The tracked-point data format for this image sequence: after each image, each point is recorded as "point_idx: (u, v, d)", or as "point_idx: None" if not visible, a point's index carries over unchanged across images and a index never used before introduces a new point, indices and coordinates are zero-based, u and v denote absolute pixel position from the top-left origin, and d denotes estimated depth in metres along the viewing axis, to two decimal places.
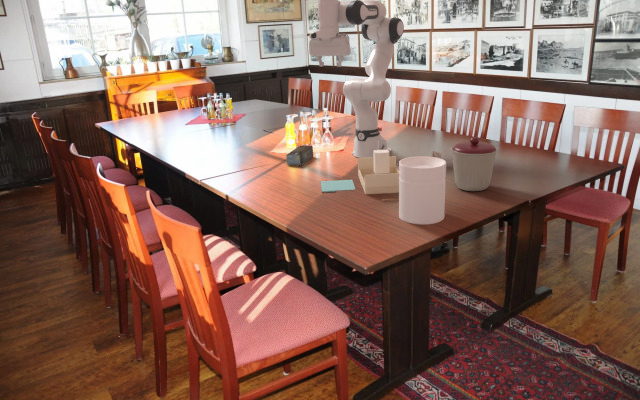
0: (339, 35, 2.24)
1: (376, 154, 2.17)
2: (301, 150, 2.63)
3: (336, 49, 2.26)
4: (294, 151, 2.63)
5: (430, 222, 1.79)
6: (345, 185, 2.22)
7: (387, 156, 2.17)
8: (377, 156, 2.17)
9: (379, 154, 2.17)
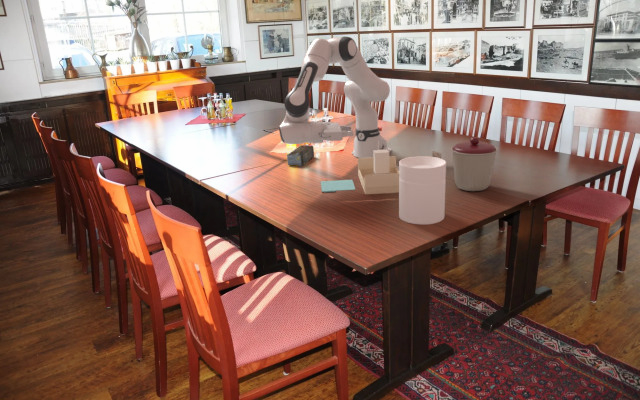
0: None
1: (376, 154, 2.17)
2: (302, 150, 2.63)
3: None
4: (295, 151, 2.63)
5: (430, 222, 1.79)
6: (345, 185, 2.22)
7: (387, 156, 2.17)
8: (377, 156, 2.17)
9: (379, 154, 2.17)
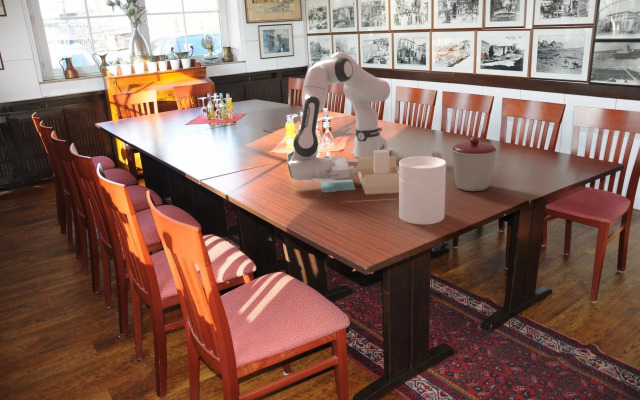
0: None
1: (376, 154, 2.17)
2: None
3: None
4: None
5: (430, 222, 1.79)
6: (345, 185, 2.22)
7: (387, 156, 2.17)
8: (377, 156, 2.17)
9: (379, 154, 2.17)
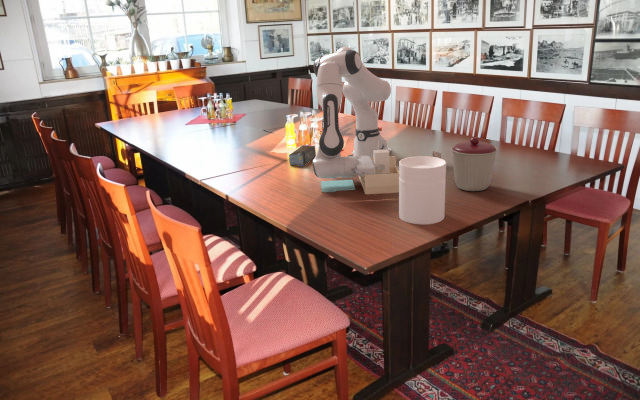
0: None
1: (376, 154, 2.17)
2: (304, 150, 2.63)
3: None
4: (297, 151, 2.62)
5: (430, 222, 1.79)
6: (345, 185, 2.22)
7: (387, 156, 2.17)
8: (377, 156, 2.17)
9: (379, 154, 2.17)
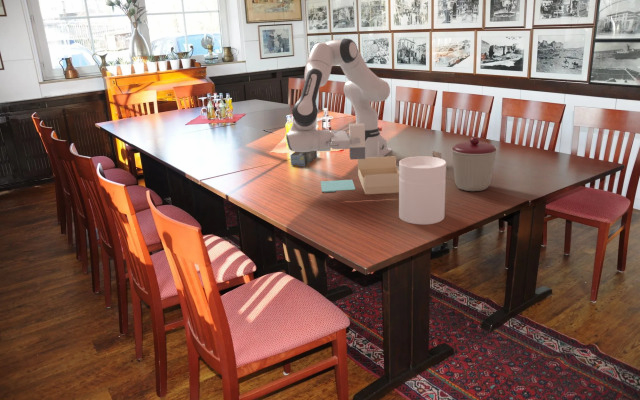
0: None
1: (351, 127, 2.12)
2: None
3: None
4: None
5: (430, 222, 1.79)
6: (345, 185, 2.22)
7: (362, 129, 2.13)
8: (352, 129, 2.13)
9: (354, 127, 2.12)
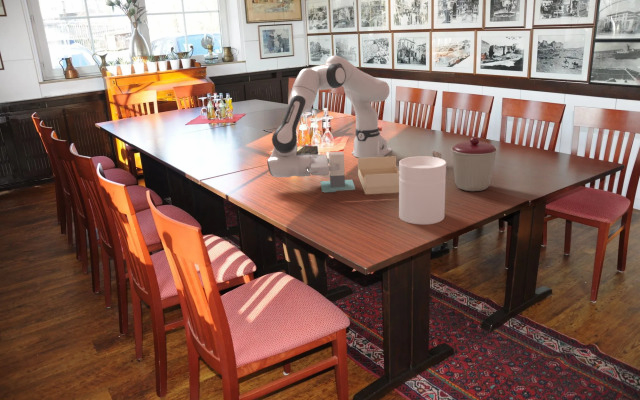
0: None
1: (331, 156, 2.16)
2: (307, 150, 2.62)
3: None
4: (300, 151, 2.62)
5: (430, 222, 1.79)
6: (345, 185, 2.22)
7: (341, 158, 2.17)
8: (332, 158, 2.17)
9: (334, 156, 2.17)
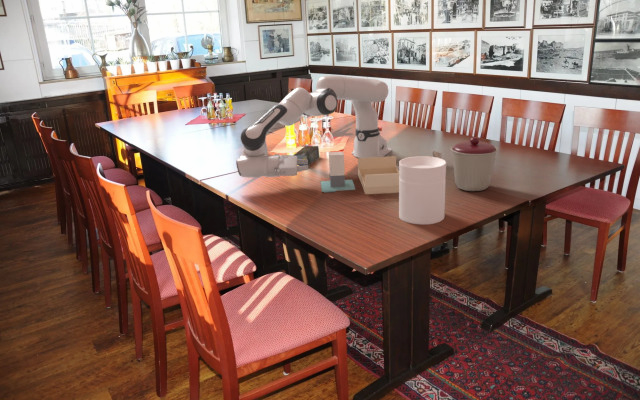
0: None
1: (331, 156, 2.16)
2: (308, 150, 2.62)
3: None
4: (301, 151, 2.62)
5: (430, 222, 1.79)
6: (345, 185, 2.22)
7: (341, 158, 2.17)
8: (332, 158, 2.17)
9: (334, 156, 2.17)
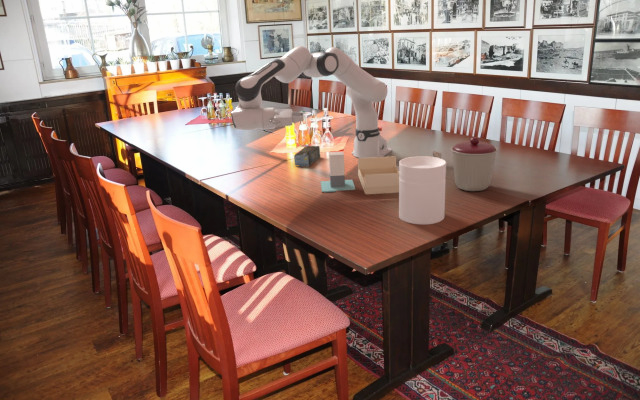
0: None
1: (331, 156, 2.16)
2: (309, 150, 2.62)
3: None
4: (302, 151, 2.62)
5: (430, 222, 1.79)
6: (345, 185, 2.22)
7: (341, 158, 2.17)
8: (332, 158, 2.17)
9: (334, 156, 2.17)
